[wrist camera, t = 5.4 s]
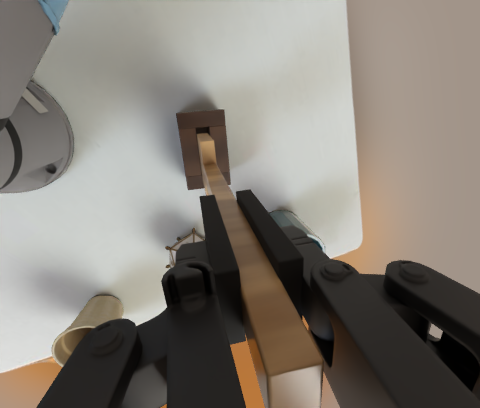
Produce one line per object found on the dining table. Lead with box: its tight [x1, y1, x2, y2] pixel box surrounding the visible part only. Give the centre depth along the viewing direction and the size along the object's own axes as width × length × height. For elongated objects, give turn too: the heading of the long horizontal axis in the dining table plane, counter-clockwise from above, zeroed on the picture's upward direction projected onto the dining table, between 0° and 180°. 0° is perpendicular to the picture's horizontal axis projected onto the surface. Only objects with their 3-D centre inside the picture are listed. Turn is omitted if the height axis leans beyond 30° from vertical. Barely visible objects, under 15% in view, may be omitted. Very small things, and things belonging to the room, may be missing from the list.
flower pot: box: [52, 295, 123, 367], centre depth 41 cm, size 9×9×9 cm
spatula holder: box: [176, 109, 231, 190], centre depth 36 cm, size 10×6×6 cm, turn 5°
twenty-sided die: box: [165, 228, 206, 268], centre depth 41 cm, size 9×8×10 cm
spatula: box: [197, 133, 324, 408], centre depth 17 cm, size 6×1×26 cm, turn 5°
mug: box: [269, 210, 326, 254], centre depth 43 cm, size 12×9×10 cm
